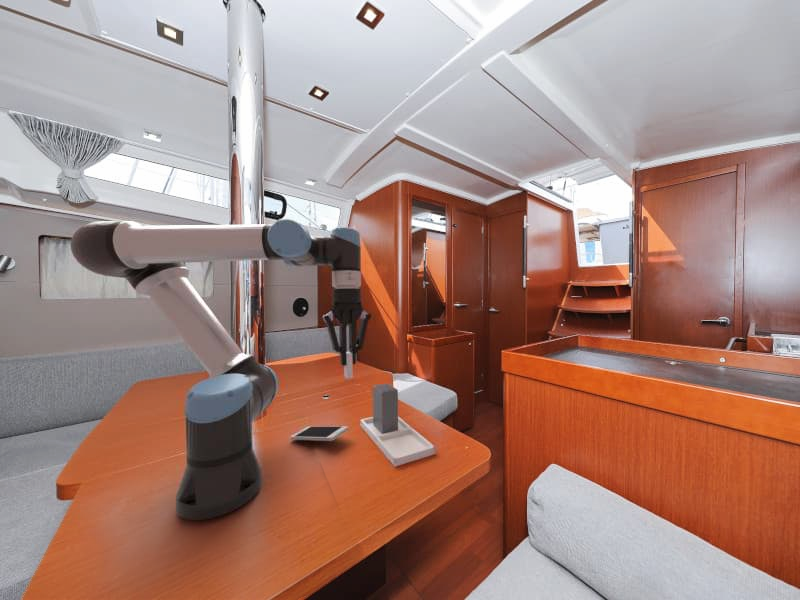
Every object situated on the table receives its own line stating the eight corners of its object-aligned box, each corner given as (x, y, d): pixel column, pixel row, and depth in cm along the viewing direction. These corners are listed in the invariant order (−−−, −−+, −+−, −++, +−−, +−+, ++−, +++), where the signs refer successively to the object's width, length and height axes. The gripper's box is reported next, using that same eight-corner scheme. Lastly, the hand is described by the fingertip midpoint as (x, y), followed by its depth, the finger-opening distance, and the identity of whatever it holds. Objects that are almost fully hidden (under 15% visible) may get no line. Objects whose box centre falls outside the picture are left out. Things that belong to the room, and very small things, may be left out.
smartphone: (332, 441, 73) (331, 437, 73) (289, 439, 79) (289, 436, 79) (349, 429, 79) (348, 425, 79) (308, 429, 86) (308, 425, 86)
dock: (394, 466, 66) (394, 412, 66) (360, 425, 88) (359, 384, 88) (435, 453, 72) (435, 403, 71) (393, 417, 93) (393, 379, 93)
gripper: (325, 287, 68) (327, 384, 69) (375, 287, 74) (376, 377, 75) (318, 288, 75) (320, 377, 75) (365, 288, 81) (366, 370, 81)
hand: (348, 377), depth 75 cm, fingers closed
